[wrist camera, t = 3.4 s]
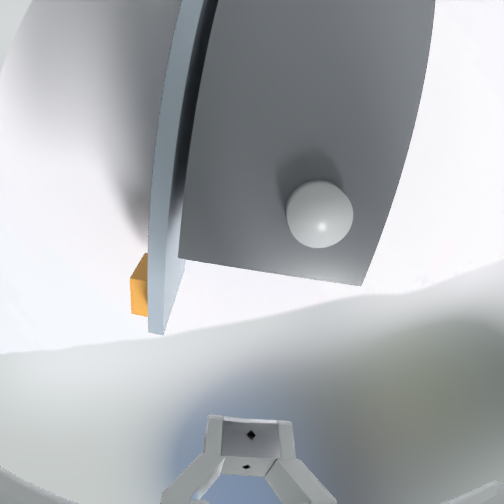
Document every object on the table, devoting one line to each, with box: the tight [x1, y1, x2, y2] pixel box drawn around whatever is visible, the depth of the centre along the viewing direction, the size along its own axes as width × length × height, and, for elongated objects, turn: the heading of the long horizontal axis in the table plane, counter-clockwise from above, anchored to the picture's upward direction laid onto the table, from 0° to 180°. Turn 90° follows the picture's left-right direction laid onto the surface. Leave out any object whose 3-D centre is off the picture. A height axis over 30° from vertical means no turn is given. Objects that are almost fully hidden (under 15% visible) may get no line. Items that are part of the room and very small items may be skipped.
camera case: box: [178, 0, 435, 286], centre depth 12 cm, size 15×8×8 cm, turn 169°
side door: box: [130, 0, 218, 335], centre depth 13 cm, size 20×2×7 cm, turn 169°
